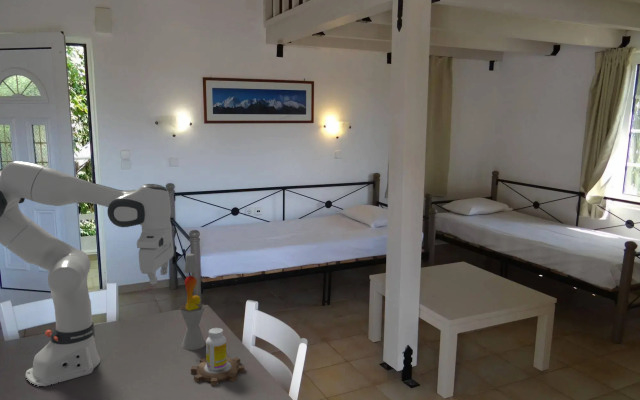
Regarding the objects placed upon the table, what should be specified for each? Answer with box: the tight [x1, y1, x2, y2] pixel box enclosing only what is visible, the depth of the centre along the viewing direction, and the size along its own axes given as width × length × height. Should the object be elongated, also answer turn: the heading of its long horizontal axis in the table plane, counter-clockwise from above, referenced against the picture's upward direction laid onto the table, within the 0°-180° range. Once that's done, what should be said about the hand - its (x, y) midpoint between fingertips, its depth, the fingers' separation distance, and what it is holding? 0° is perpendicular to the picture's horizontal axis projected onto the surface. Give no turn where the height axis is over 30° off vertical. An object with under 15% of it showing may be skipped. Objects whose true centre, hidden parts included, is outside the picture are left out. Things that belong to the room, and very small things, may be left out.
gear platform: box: [190, 356, 246, 386], centre depth 168 cm, size 18×18×2 cm
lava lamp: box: [179, 253, 206, 351], centre depth 185 cm, size 9×9×35 cm
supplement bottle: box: [205, 327, 228, 371], centre depth 167 cm, size 7×7×13 cm
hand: (159, 278), depth 157 cm, fingers open, 8 cm apart
